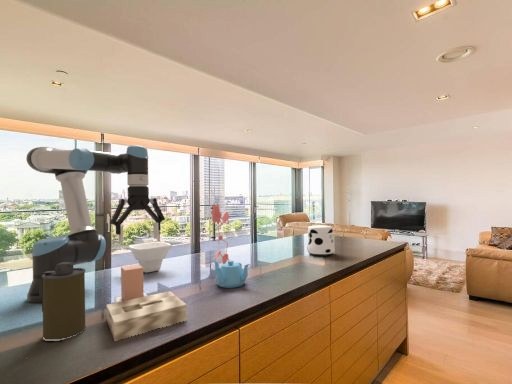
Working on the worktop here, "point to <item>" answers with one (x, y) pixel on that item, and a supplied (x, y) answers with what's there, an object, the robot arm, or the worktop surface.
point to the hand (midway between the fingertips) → (139, 241)
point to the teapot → (230, 274)
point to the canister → (63, 301)
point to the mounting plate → (144, 314)
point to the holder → (119, 299)
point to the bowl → (150, 254)
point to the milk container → (320, 240)
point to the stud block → (131, 282)
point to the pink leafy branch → (215, 219)
